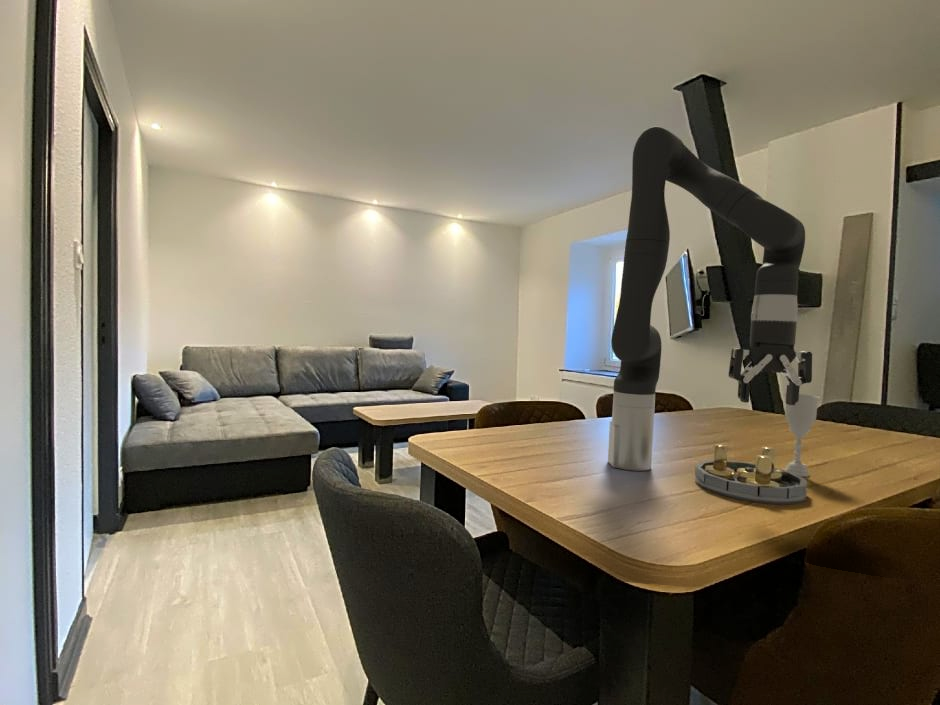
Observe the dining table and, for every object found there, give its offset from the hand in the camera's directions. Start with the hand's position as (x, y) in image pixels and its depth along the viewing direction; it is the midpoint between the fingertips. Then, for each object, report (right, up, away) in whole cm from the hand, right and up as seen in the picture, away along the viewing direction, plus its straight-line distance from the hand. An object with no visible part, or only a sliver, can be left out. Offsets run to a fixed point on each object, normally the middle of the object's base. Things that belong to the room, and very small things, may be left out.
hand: (767, 403), depth 98 cm
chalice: (+18, -18, +19) cm, 32 cm away
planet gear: (-1, -17, +1) cm, 17 cm away
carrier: (0, -18, +6) cm, 19 cm away
